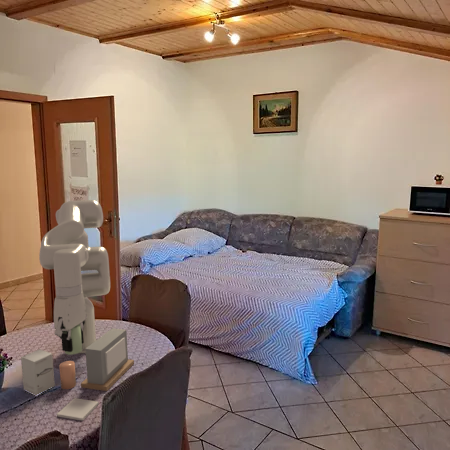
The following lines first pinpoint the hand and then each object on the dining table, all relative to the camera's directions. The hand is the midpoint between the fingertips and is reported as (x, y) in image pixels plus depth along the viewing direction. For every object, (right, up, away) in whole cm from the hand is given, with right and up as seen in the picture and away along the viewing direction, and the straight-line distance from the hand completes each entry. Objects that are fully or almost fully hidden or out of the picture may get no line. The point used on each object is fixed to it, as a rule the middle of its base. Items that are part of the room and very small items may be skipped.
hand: (73, 346), depth 130 cm
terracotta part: (-8, -19, +18) cm, 27 cm away
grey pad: (0, -21, +3) cm, 21 cm away
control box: (+4, -18, +25) cm, 31 cm away
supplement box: (-17, -20, +16) cm, 31 cm away
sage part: (0, -1, 0) cm, 1 cm away
